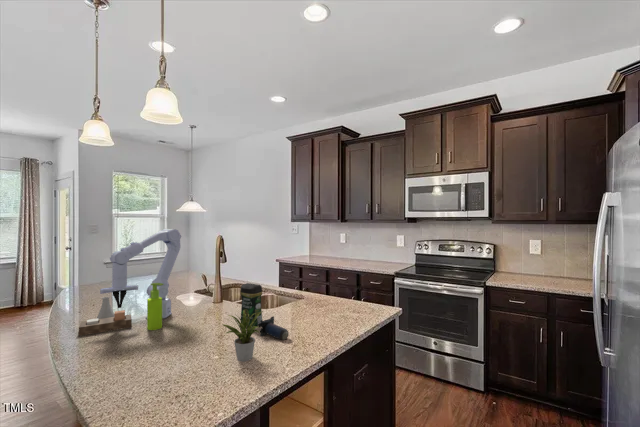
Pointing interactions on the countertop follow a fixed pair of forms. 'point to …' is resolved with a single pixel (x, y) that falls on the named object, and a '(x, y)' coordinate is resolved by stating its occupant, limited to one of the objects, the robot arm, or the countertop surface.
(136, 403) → the countertop surface
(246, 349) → the house plant
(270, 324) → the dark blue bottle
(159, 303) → the soap dispenser
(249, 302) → the coffee jar
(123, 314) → the salmon pink cube
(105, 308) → the flask
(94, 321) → the white cube
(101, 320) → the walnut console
